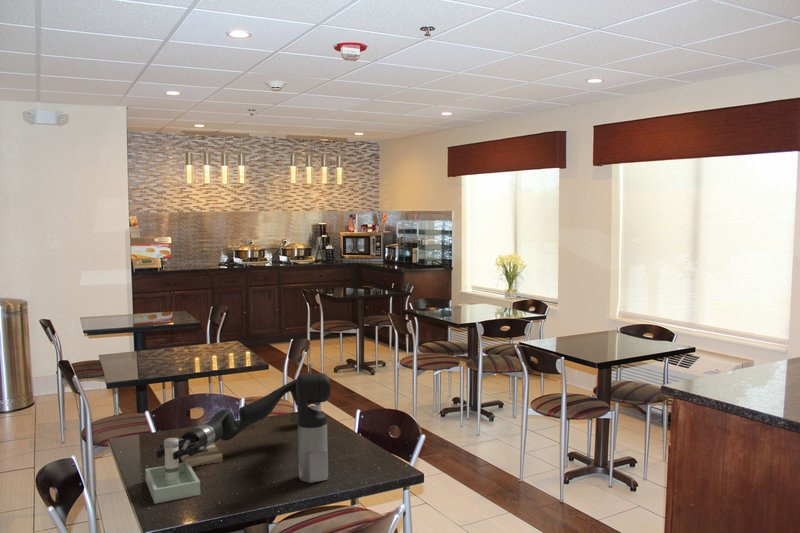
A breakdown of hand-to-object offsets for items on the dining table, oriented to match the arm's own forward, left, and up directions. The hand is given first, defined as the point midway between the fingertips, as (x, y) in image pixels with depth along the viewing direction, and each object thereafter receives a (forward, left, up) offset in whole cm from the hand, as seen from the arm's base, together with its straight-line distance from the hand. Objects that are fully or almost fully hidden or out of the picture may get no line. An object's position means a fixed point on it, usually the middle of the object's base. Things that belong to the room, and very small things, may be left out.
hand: (166, 455), depth 198 cm
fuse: (+2, -2, -10) cm, 10 cm away
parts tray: (+2, -2, -11) cm, 11 cm away
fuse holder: (+26, -15, -11) cm, 32 cm away
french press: (+46, -63, -11) cm, 78 cm away
